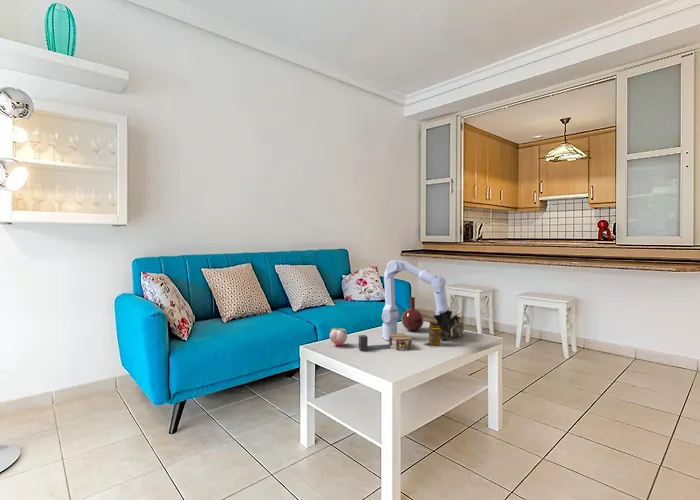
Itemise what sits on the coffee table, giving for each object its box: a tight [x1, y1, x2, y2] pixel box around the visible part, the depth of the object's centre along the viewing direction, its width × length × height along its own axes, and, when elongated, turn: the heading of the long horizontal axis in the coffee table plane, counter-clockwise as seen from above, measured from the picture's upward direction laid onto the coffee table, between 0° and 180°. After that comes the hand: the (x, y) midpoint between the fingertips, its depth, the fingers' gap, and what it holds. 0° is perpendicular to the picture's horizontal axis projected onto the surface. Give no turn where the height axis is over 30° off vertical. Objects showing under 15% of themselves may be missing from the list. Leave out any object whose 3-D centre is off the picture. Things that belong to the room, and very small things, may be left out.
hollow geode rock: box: [441, 313, 465, 342], centre depth 215 cm, size 28×13×15 cm
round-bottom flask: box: [401, 296, 425, 332], centre depth 231 cm, size 13×13×20 cm
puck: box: [399, 341, 408, 349], centre depth 198 cm, size 5×5×2 cm
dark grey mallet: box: [358, 334, 392, 352], centre depth 194 cm, size 4×16×7 cm, turn 105°
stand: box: [388, 332, 413, 351], centre depth 198 cm, size 11×8×5 cm
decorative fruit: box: [329, 326, 348, 346], centre depth 200 cm, size 9×8×10 cm
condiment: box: [423, 320, 444, 349], centre depth 201 cm, size 7×8×12 cm
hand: (445, 327), depth 196 cm, fingers open, 7 cm apart
